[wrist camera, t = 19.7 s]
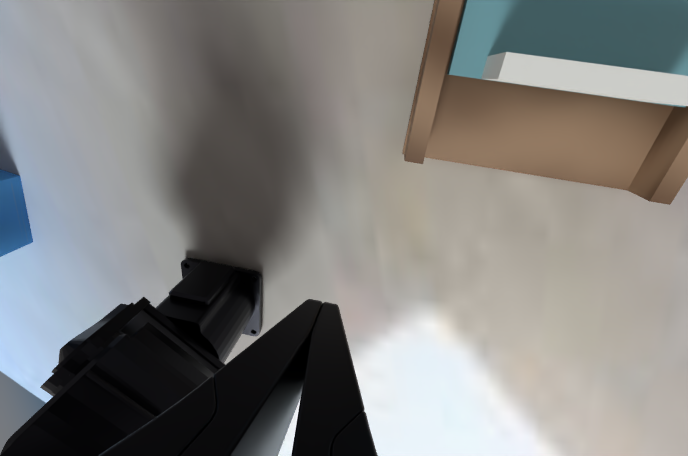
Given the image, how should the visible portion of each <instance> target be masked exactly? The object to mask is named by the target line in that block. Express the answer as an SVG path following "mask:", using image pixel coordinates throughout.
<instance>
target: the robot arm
mask: <svg viewBox="0 0 688 456" xmlns="http://www.w3.org/2000/svg"><path fill="white" fill-rule="evenodd" d="M187 263H188V264H189V265H190V266H189V265H188V264H187ZM181 269H182V277H183V279H182V280H181V281H180V282H179V283H178V284H177V285H176V286H175V287H174V288H173V289H172V290H171V291H170V292H169V296H168V297H167V298H166V299H165V300H164V301H163V302H161V303H160V304H159V305H158V306H157V307H156V308H155V307H153V306H152V305H151V304H150V301H148V300H147V299H146V298H145V297H143V298H142V299H141V300H139V301H138V302H137V303H136V304H133V303H131V304H129V305H126V304H120V305H119V306H117V307H116V308H115V309H114V310H113V311H111V312H110V313H109V314H108V315H106V316H105V317H104V318H103V319H101V320H100V321H99V322H97V323H96V324H94V325H93V326H91V327H90V328H88V329H87V330H85V331H84V332H82V333H81V334H79V335H78V336H76V337H75V338H73V339H72V340H70V341H69V342H68V343H67V344H66V345H64V346H63V347H62V348H61V349H60V353H59V364H58V365H57V366H56V367H55V368H54V369H53V370H52V373H54V374H53V375H52V376H51V377H50V378H49V379H48V380H47V381H46V382H45V383H44V384H43V385H42V386H41V387H40V388H42V389H43V390H45V391H46V392H48V393H49V394H50V395H52V396H53V397H52V398H51V399H50V400H49V401H48V402H47V403H46V404H45V405H44V406H43V407H42V408H41V409H40V410H39V411H38V412H36V413H35V414H34V415H33V416H32V417H31V418H30V419H29V420H28V421H27V422H26V423H25V424H24V425H23V426H22V427H21V428H20V429H18V431H16V432H15V433H14V434H13V435H12V436H11V437H10V438H9V439H8V441H7V442H6V444H5V446H4V448H3V450H2V452H1V455H0V456H278V453H279V451H280V448H281V446H282V443H283V440H284V438H285V435H286V433H287V430H288V428H289V425H290V423H291V420H292V417H293V415H294V412H295V410H296V407H297V405H298V402H299V399H300V397H301V400H300V406H299V412H298V419H297V425H296V431H295V437H294V444H293V450H292V456H378V455H377V452H376V449H375V445H374V442H373V438H372V435H371V431H370V428H369V424H368V420H367V416H366V413H365V412H364V405H363V401H362V397H361V393H360V389H359V385H358V381H357V377H356V374H355V370H354V366H353V362H352V358H351V354H350V350H349V346H348V342H347V338H346V334H345V330H344V326H343V322H342V318H341V314H340V310H339V307H338V305H337V304H332V303H328V302H324V303H322V302H321V301H318V300H313V299H308V300H306V301H305V302H304V303H302V304H301V305H300V306H299V307H297V308H296V309H295V310H294V311H292V312H291V313H290V314H289V315H287V316H286V317H285V318H284V319H282V320H281V321H280V322H279V323H277V324H276V325H275V326H274V327H272V328H271V329H270V330H269V331H267V332H266V333H265V334H264V335H262V336H261V337H260V338H259V339H257V340H256V341H255V342H254V343H252V344H251V345H250V346H249V347H247V348H246V349H245V350H244V351H242V352H241V353H240V354H239V355H237V356H236V357H235V358H234V359H232V360H231V361H230V362H229V363H227V364H226V365H225V364H224V362H225V361H226V359H227V357H228V356H229V354H230V352H231V351H232V349H233V347H234V346H235V344H236V342H237V341H238V339H239V338H240V336H241V334H246V335H251V336H258V335H259V333H260V331H261V293H262V277H261V274H260V273H259V272H257V271H252V270H247V269H242V268H237V267H232V266H228V265H223V264H218V263H213V262H208V261H202V260H197V259H192V258H185V259H184V260H183V261H182V262H181ZM253 277H255V278H256V279H254V278H253Z"/></svg>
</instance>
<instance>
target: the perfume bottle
mask: <svg viewBox="0 0 688 456" xmlns="http://www.w3.org/2000/svg"><path fill="white" fill-rule="evenodd" d="M32 242H33V239H32V234H31V229H30V224H29V219H28V214H27V209H26V204H25V199H24V194H23V189H22V183H21V178H20V176H19V175H16V174H13V173H10V172H7V171H4V170H1V169H0V257H1V256H3V255H5V254H8V253H10V252H12V251H14V250H16V249H19V248H21V247H23V246H25V245H27V244H30V243H32Z"/></svg>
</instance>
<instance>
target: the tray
mask: <svg viewBox="0 0 688 456" xmlns="http://www.w3.org/2000/svg"><path fill="white" fill-rule="evenodd" d="M447 74H448V75H455V76H462V77H469V78H476V79H483V80H490V81H498V82H505V83H512V84H519V85H526V86H533V87H540V88H547V89H555V90H562V91H569V92H576V93H583V94H590V95H597V96H604V97H612V98H619V99H626V100H633V101H640V102H647V103H654V104H661V105H669V106H677V107H686V106H688V0H465V3H464V7H463V11H462V15H461V19H460V23H459V27H458V31H457V35H456V39H455V43H454V47H453V51H452V55H451V59H450V63H449V68H448V72H447Z"/></svg>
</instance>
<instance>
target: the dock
mask: <svg viewBox="0 0 688 456" xmlns="http://www.w3.org/2000/svg"><path fill="white" fill-rule="evenodd" d="M464 3H465V0H435V1H434V6H433V10H432V15H431V20H430V25H429V29H428V34H427V39H426V44H425V48H424V53H423V58H422V63H421V67H420V72H419V77H418V82H417V86H416V91H415V96H414V100H413V105H412V110H411V115H410V119H409V124H408V129H407V134H406V138H405V143H404V148H403V153H402V154H404V158H405V161H408V162H414V163H420V164H423V161H424V157H426V158H432V159H438V160H444V161H451V162H457V163H463V164H469V165H475V166H481V167H488V168H494V169H500V170H506V171H512V172H518V173H525V174H531V175H537V176H543V177H549V178H555V179H561V180H568V181H574V182H580V183H586V184H592V185H598V186H605V187H611V188H617V189H623V190H628V191H630V192H632V193H634V194H636V195H638V196H640V197H642V198H644V199H646V200H648V201H651V202H657V203H663V204H671V202H672V201H673V199H674V198H675V196H676V195H677V193H678V191H679V190H680V188H681V187H682V185H683V184H684V182H685V180H686V179H687V177H688V106H686V107H677V106H669V105H661V104H654V103H647V102H640V101H633V100H626V99H619V98H612V97H604V96H597V95H590V94H583V93H576V92H569V91H562V90H555V89H547V88H540V87H533V86H526V85H519V84H512V83H505V82H498V81H490V80H483V79H476V78H469V77H462V76H455V75H448V74H447V72H448V68H449V63H450V59H451V55H452V51H453V47H454V43H455V39H456V35H457V31H458V27H459V23H460V19H461V15H462V11H463V7H464Z"/></svg>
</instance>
